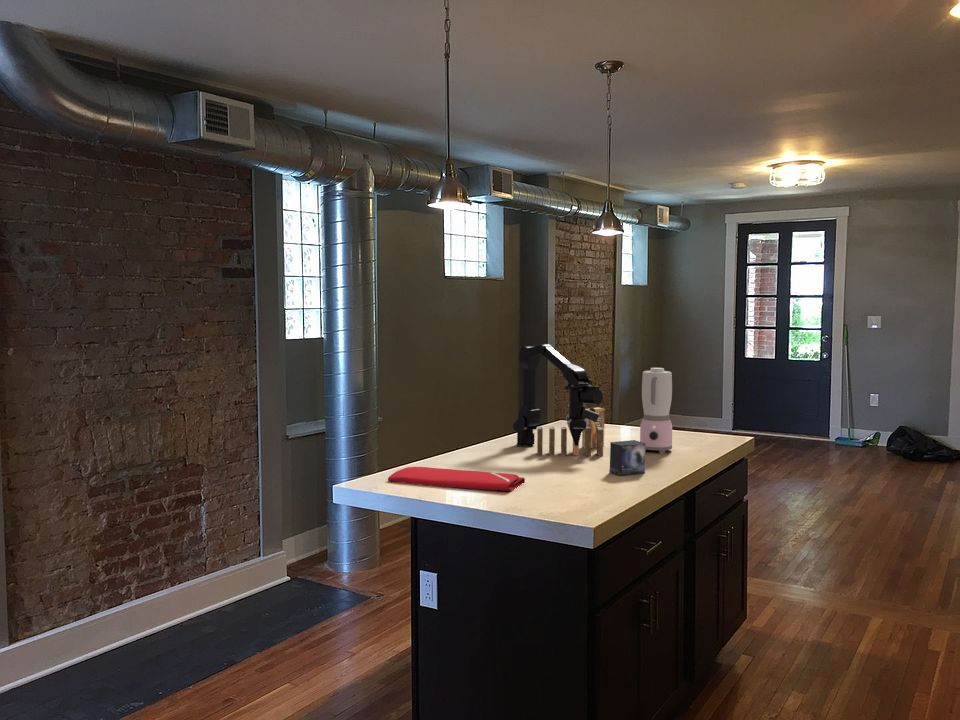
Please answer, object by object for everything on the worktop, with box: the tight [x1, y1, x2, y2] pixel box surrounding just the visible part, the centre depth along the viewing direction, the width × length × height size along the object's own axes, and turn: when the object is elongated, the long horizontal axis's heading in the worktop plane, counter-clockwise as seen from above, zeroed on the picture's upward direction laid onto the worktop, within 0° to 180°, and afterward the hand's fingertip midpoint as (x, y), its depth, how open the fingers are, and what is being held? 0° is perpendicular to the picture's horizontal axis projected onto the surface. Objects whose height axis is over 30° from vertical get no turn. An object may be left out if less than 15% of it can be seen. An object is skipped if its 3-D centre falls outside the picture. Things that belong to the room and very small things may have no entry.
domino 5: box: [584, 427, 592, 457], centre depth 297 cm, size 2×6×10 cm, turn 177°
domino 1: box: [536, 426, 544, 456], centre depth 298 cm, size 2×6×10 cm, turn 177°
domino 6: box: [596, 427, 604, 457], centre depth 297 cm, size 2×6×10 cm, turn 177°
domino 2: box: [548, 426, 556, 456], centre depth 298 cm, size 2×6×10 cm, turn 177°
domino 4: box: [572, 439, 580, 456], centre depth 297 cm, size 2×6×10 cm, turn 177°
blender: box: [639, 367, 673, 454], centre depth 303 cm, size 16×12×32 cm
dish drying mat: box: [387, 466, 526, 492], centre depth 250 cm, size 16×41×4 cm, turn 68°
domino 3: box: [560, 426, 568, 456], centre depth 297 cm, size 2×6×10 cm, turn 177°
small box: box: [608, 439, 646, 477], centre depth 264 cm, size 11×6×10 cm, turn 117°
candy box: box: [581, 407, 606, 449], centre depth 312 cm, size 9×4×15 cm, turn 129°
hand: (575, 443), depth 297 cm, fingers open, 9 cm apart
